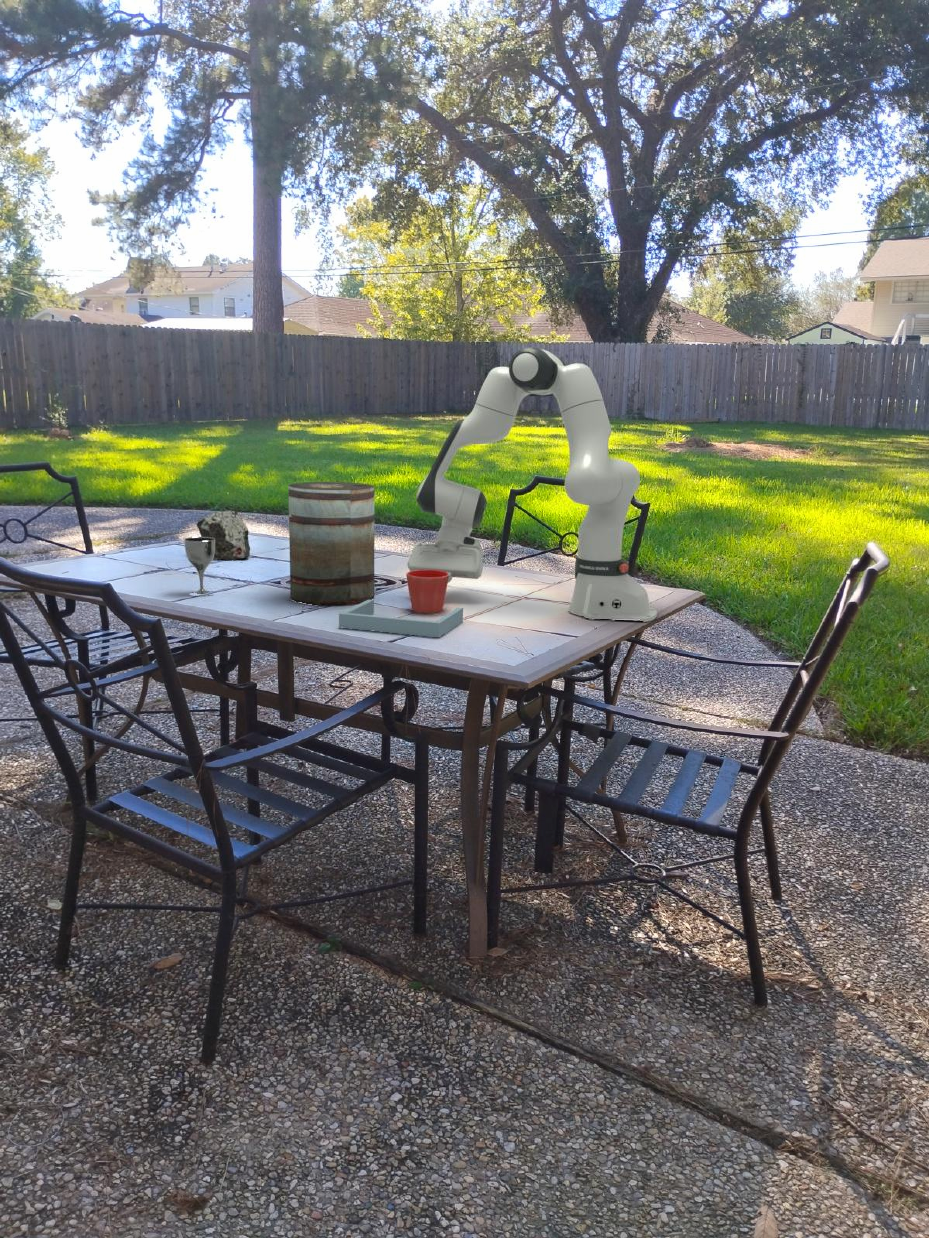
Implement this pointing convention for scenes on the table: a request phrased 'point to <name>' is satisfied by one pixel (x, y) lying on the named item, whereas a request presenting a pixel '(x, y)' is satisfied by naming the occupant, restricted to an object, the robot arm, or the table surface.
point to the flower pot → (427, 590)
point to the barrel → (331, 543)
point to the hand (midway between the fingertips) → (438, 587)
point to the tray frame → (397, 621)
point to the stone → (226, 534)
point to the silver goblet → (200, 555)
